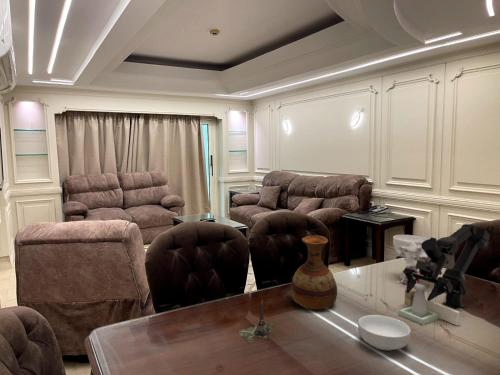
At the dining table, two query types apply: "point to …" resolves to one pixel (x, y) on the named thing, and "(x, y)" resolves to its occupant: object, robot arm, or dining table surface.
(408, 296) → the gate post
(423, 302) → the salt shaker
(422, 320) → the tray
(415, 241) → the white irregular sculpture
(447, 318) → the gate
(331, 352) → the dining table surface
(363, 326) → the cereal bowl
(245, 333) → the eiffel tower figurine
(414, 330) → the dining table surface
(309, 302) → the brown ceramic vase
